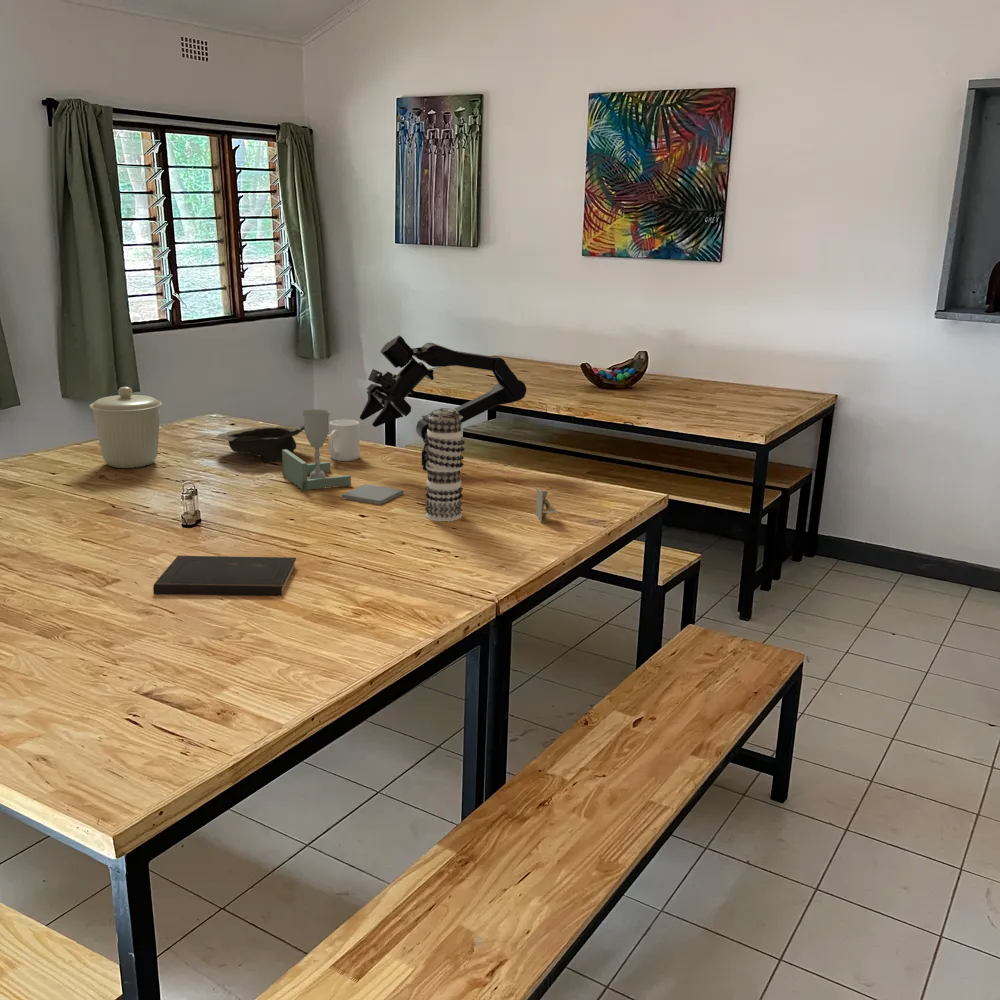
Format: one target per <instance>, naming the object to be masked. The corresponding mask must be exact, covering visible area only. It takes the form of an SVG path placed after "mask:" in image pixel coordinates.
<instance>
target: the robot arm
mask: <svg viewBox="0 0 1000 1000" xmlns="http://www.w3.org/2000/svg"><path fill="white" fill-rule="evenodd" d="M380 354H381V355H383V356H384V358H385V359H386V360H387V361H388V362H389V363H390V364H391V365H392V366H393V367H394V368H396V369H397V368H401V370H400V371H399V373H397V374H395V373H392V372H390V371H387V370H384V371H383V372H381V371H379V370H377V369H375V368H372V369H371V372H370V374H369V376H368V378H367V380H368V381H371V382H373V383H371V384H370V385H369V386H367V388H366V393H367V394H366V395H367V402H366V404H365V406H364V408H363V410H362V411H361V414H360V416H359V419H360V420H361V421H364V420H366V419H367V418H369V417H371V416H373V415H374V414H375V415H376V413H378V412H380V413H379V414H378V415H377V416H376V418H375V419H374V420H373V422H372V424H371V425H372V426H373V427H374V428H377V427H379V426H382V425H384V424H386V423H389V422H392V421H395V420H398V419H399V418H403V417H407V416H408V415H409V414H410V413H411V412H412V406H411V405H410V403H408V402H407V401H406V398H407V396H408V395H413V394H415V390H414V389H415V388H416V387H417V386H418V385H419V384H420V383H421V382H422V381H423V380H424V379H425V378H426V379H427V380H430V381H433V380H434V378H435V377H434V369H429V368H428V367H427V366H430V367H433V368H439V367H440V368H442V367H444V368H445V367H451V366H452V367H453V366H456V367H457V366H458V367H464V368H471V369H476V370H477V369H479V370H485V371H491V372H492V374H493V375H494V377H495V379H496V381H497V383H496V384H495V385H494V386H493V387H492V388H491V389H490V390H489V391H488V392H487V391H486V393H483V394H481V395H480V396H477V397H476V398H473V399H471V400H469V401H468V402H465V403H463V404H461V405H459V406H458V407H455V408H454V409H455V410H457V411H458V412H459V414H460V416H462V417H463V418H462V419H461V423H464V422H466V421H467V422H468V420H470V419H473V418H475V417H477V416H479V415H480V414H481V415H482V414H483V413H485V412H487V411H488V410H491V409H493V408H494V407H497V406H500V405H501V406H502V405H507V404H508V405H509V404H512V403H515V402H519V401H521V400H522V399H524V398H525V397H526V393H527V386H526V384H525V383H524V382H523V381H522V380H520V379H519V378H518V377H517V376H516V375H515V373H514V372H513V371H512V370H511V368H510V367H509V366H508V365H507V362H506V361H505V359H503V358H501V357H499V356H497V355H493V356H492V355H484V354H478V353H472V352H464V351H458V350H453V349H451V348H448V347H445V346H443V345H440V344H437V343H434V342H426V343H424V344H423V345H422V346H420V347H413V348H412V347H411V346H410V345H409V344H408V343H407V342H406V340H405V339H404V338H403V337H402V336H401V335H396V337H394V338H393V339H391V340H390V341H387V342H386V343H385V344H384V345H383V347H382V348H381V350H380ZM415 358H416V359H417V360H420V362H418V361H417V360H416V359H415ZM424 363H425V364H427V366H426V365H425V364H424ZM430 414H431V412H429V413H428V414H426V415H422V416H421V418H420V419H419V420H418V421H417V422H416V423H417V424H416V427H415V430H416V433H417V435H418V436H419V437H420V438H421V439H422V441H423V443H424V445H423V449H421V466H422V469H423V470H428V469H427V468H426V465H425V464H426V462H427V461H428V460H426V458H425V455H426V451H425V448H426V446H427V445H426V444H425V442H424V440H425V438H426V437H425V436H424V435H426V433H427V429H428V417H427V416H428V415H430ZM428 442H429V440H428Z"/></svg>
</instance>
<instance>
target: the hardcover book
mask: <svg viewBox="0 0 1000 1000" xmlns="http://www.w3.org/2000/svg"><path fill="white" fill-rule="evenodd" d="M296 560H297V557H289V556H288V557H285V556H284V557H281V556H280V557H279V556H277V557H275V556H227V555H225V556H224V555H223V556H222V555H221V556H220V555H217V556H216V555H177V556H176V558H174V560H173V561H172V562H171V563H170V564H169V566H168V567H167V568H166V569H165V571H164V572H163V573H162V574H161V575H160V576H159V577H158V579H157V580H156V581H155V582H154V584H153V586H152V587H153V588H152V590H153V595H169V596H170V595H171V596H172V595H178V596H179V595H183V596H186V595H187V596H242V597H243V596H244V597H245V596H246V597H247V596H254V597H256V596H257V597H258V596H259V597H263V596H264V597H282V596H283V591H284V589H285V587H286V585H287V583H288V581H289V579H290V577H291V575H292V573H293V570H294V569H295V563H296Z"/></svg>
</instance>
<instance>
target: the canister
mask: <svg viewBox="0 0 1000 1000" xmlns="http://www.w3.org/2000/svg"><path fill="white" fill-rule="evenodd" d="M117 394H118V395H110V396H105V397H101V398H97V400H94V402H92V403H91V404H89V409H90V410H92V415H93V418H94V419H93V420H94V423H95V429H96V434H97V438H98V442H99V446H100V451H101V454H102V458H103V460H104V462H105V463H106V464H107V465H108V466H110V467H113V468H118V469H137V468H142V467H143V468H144V467H147V466H149V465H152V464H153V463H154V462H155V461H156V459H157V457H158V451H159V437H160V436H159V435H160V417H161V414H160V411H161V410H160V409H161V407H162V406H163V402H162V401H161V400H158V399H157V398H155V397H153V396H148V395H145V394H144V395H141V394H133V390H132V388H131V387H130V386H129V387H128V386H121V387H119V389H118V390H117ZM146 465H147V466H146ZM135 467H136V468H135Z"/></svg>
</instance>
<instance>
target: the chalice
mask: <svg viewBox="0 0 1000 1000" xmlns="http://www.w3.org/2000/svg"><path fill="white" fill-rule="evenodd" d="M301 414H302V415H303V424H304V425H303V426H304V430H303V431H304V434H305V436H306V439H307V442H309V445H310V447H312V448H313V449H314V450H315V452H314V453H313V456H314V458H315V460H314V461H313V463H315V466H316V468H315V471H312V472H311V474H309V476H308V477H309V478H308V479H316V478H326V477H327V475H326V472H323V471H321V470H320V468H319V465H320V463H321V462H322V461H321V460H320V457H321V454H320V448H322V447H323V446H324V444H325V442H326V440H327V437H328V435H329V433H330V423H329V417H330V415H331V411H330V410H326V409H307V410H303V411H301Z"/></svg>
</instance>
